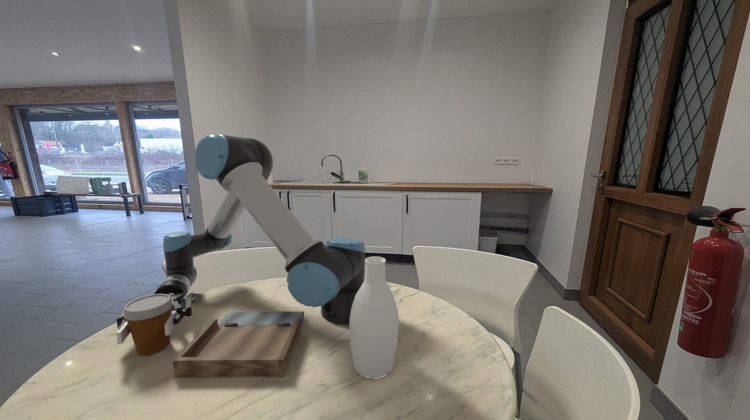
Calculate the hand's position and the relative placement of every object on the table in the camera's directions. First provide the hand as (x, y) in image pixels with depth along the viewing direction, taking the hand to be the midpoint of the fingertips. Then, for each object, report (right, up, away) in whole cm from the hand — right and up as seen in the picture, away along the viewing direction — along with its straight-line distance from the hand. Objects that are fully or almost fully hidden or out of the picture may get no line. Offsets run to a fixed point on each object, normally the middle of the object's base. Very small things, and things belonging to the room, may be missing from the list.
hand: (143, 334), depth 63 cm
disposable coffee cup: (-2, -6, +5) cm, 8 cm away
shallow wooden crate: (+21, -6, +8) cm, 23 cm away
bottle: (+52, -8, +1) cm, 53 cm away
